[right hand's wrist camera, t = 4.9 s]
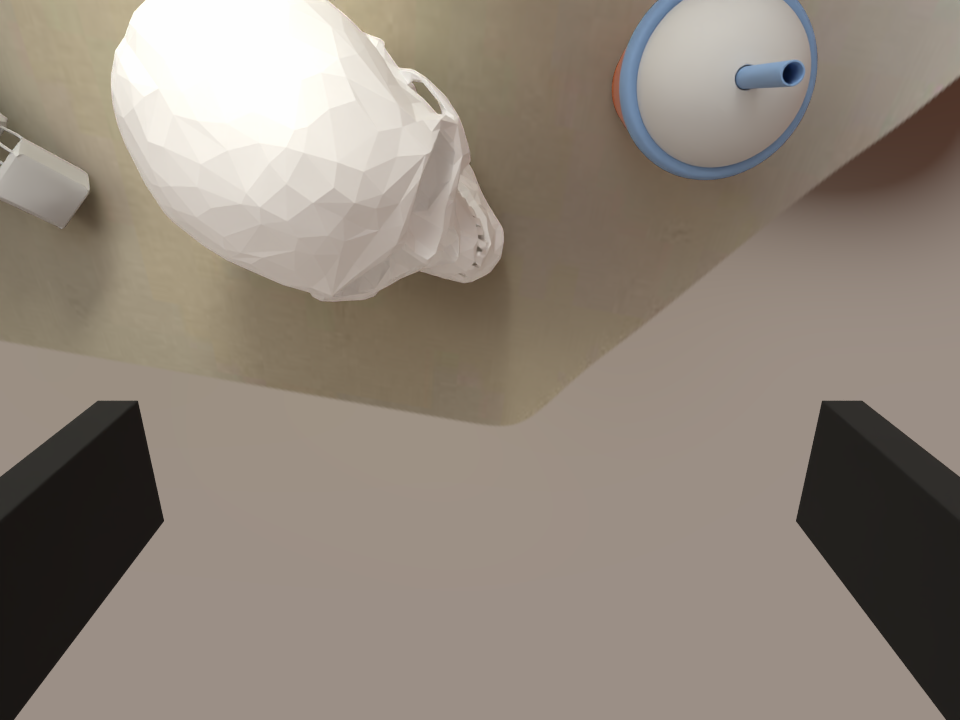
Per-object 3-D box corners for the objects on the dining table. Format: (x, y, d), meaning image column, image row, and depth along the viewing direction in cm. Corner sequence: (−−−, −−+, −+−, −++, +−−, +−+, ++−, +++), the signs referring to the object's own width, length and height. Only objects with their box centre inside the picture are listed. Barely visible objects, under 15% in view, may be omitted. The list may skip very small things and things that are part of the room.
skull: (451, 330, 46) (443, 431, 31) (158, 155, 41) (-18, 173, 26) (559, 164, 42) (609, 187, 27) (249, -48, 37) (105, -161, 22)
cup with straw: (681, 187, 42) (814, 244, 25) (560, 119, 40) (616, 131, 24) (766, 50, 39) (981, 11, 22) (638, -30, 37) (766, -136, 21)
